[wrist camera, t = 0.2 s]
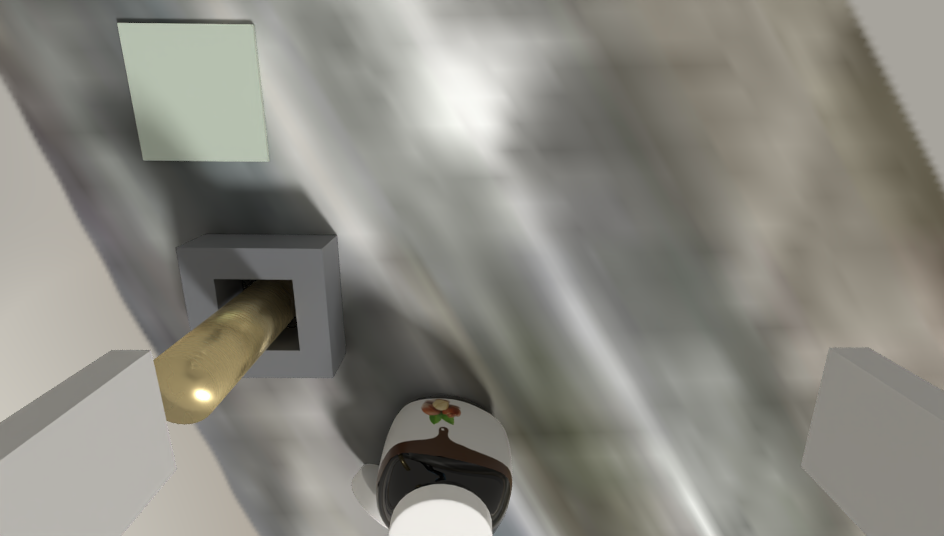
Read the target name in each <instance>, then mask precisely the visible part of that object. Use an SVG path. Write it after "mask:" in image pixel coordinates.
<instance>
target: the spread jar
mask: <svg viewBox="0 0 944 536" xmlns="http://www.w3.org/2000/svg"><path fill="white" fill-rule="evenodd" d="M512 475H513V473H512V460H511V452H510V445H509V440H508V437H507V434H506V431H505V429H504V427H503V426H502V424H501V423H500V422H499V420H498V419H497V418H495V417H494V416H493V415H492V414H491V413H490V412H488V411H487V410H485V409H484V408H482V407H481V406H479V405H477V404H475V403H473V402H471V401H469V400H466V399H463V398H460V397H455V396H446V395H440V396H430V397H425V398H421V399H417V400H415V401H413V402H411V403H409V404H407V405H406V406H404V407H403V408H402V409H401V411H400V412H399V413H398V415H397V416H396V418H395V419H394V421H393V423H392V426H391V428H390V430H389V433H388V435H387V438H386V442H385V445H384V449H383V453H382V457H381V460H380V465H375V464H365V465H363V466H362V467H361V469H360V470H359V471H358V473H357V474H356V475H355V477H354V478H353V480H352V485H351V486H352V490H353V493H354V495H355V497H356V498H357V500H358V502H359V503H360V504H361V506H362V507H363V508H364V509H365V510H366V511H367V512H368V514H369V515H371V516H372V517H373V518H374V519H375V520H376V521H377V522H379V523H380V524H381V525H383V526H384V527H386V528H388V529H389V534H388V536H492V535H493V534H494V533H495V531H496V530H497V528H498V527H499V525H500V524H501V522H502V520H503V518H504V516H505V514H506V511H507V508H508V504H509V500H510V496H511V490H512Z"/></svg>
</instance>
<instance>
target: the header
mask: <svg viewBox="0 0 944 536" xmlns="http://www.w3.org/2000/svg"><path fill="white" fill-rule="evenodd" d="M176 253H177V259H178V264H179V270H180V275H181V281H182V286H183V292H184V298H185V303H186V309H187V314H188V320H189V325H190V331H192V330H193V329H194V328H196V327H197V326H198V325H200V324H201V323H202V322H203V321H205V320H206V319H207V318H209V317H210V316H211V315H212V314H214V313H215V312H216V311H218V310H219V309H220V308H221V307H223V306H224V305H225V304H227V303H228V302H229V301H230V300H232V299H233V298H234V297H236V296H237V295H238V294H240V293H241V292H242V291H243V285H242V279H265V280H292V281H293V290H294V299H295V309H296V318H297V327H298V328H284V330H283V331H282V332H281V333H280V334H279V335H278V337H277V338H276V339H275V340H274V341H273V342H272V343H271V345H270V346H269V347H268V348H267V349H266V350H265V351H264V353H263V354H262V355H261V356H260V357H259V358H258V360H257V361H256V362H255V363H254V364H253V365H252V366H251V368H250V369H249V370H248V371H247V372H246V373H245V375H244V376H243V377H242V378H333V377H334V375H335V373H336V371H337V370H338V368H339V366H340V364H341V362H342V360H343V358H344V356H345V354H346V346H345V333H344V319H343V306H342V293H341V280H340V267H339V254H338V241H337V235H254V234H205V235H203V236H201V237H198V238H196V239H194V240H192V241H189V242H187V243H185V244H183V245H181V246H178V247H176Z"/></svg>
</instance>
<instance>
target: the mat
mask: <svg viewBox="0 0 944 536" xmlns="http://www.w3.org/2000/svg"><path fill="white" fill-rule="evenodd" d="M117 25H118V30H119V35H120V41H121V46H122V51H123V56H124V62H125V67H126V72H127V78H128V83H129V88H130V93H131V99H132V104H133V109H134V114H135V120H136V125H137V130H138V136H139V141H140V146H141V151H142V157H143V161H252V162H269V161H270V159H269V150H268V141H267V133H266V124H265V115H264V106H263V97H262V88H261V80H260V71H259V62H258V53H257V44H256V36H255V27H254V25H253V24H169V23H117Z"/></svg>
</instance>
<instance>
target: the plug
mask: <svg viewBox="0 0 944 536" xmlns="http://www.w3.org/2000/svg"><path fill="white" fill-rule="evenodd" d="M295 316H296V309H295V299H294V290H293V281H292V280H265V279H258V280H256V281H255V282H254V283H252V284H251V285H250V286H249V287H247V288H246V289H245V290H243V291H242V292H241V293H240V294H238V295H237V296H236V297H234V298H233V299H232V300H230V301H229V302H228V303H227V304H225V305H224V306H223V307H221V308H220V309H219V310H218V311H216V312H215V313H214V314H212V315H211V316H210V317H209V318H207V319H206V320H205V321H203V322H202V323H201V324H200V325H198V326H197V327H196V328H194V329H193V330H192V331H190V332H189V333H188V334H187V335H185V336H184V337H183V338H181V339H180V340H179V341H178V342H176V343H175V344H174V345H172V346H171V347H170V348H169V349H167V350H166V351H165V352H163V353H162V354H161V355H160V356H158V357H157V358H156V359H154V360H153V361H154V366H155V370H156V375H157V380H158V384H159V389H160V393H161V398H162V403H163V407H164V412H165V416H166V421H169V422H172V423H177V424H193V423H196V422H199V421H202V420H203V419H205V418H206V417H208V416H209V415H210V414H211V413H212V411H213V410H214V409H215V408H216V407H217V406H218V404H219V403H220V402H221V401H222V400H223V399H224V398H225V396H226V395H227V394H228V393H229V392H230V391H231V389H232V388H233V387H234V386H235V385H236V384H237V383H238V381H239V380H240V379H241V378H242V377H243V376H244V375H245V373H246V372H247V371H248V370H249V369H250V368H251V366H252V365H253V364H254V363H255V362H256V361H257V360H258V358H259V357H260V356H261V355H262V354H263V353H264V351H265V350H266V349H267V348H268V347H269V346H270V345H271V343H272V342H273V341H274V340H275V339H276V338H277V337H278V335H279V334H280V333H281V332H282V331H283V330H284V328H285V327H286V326H287V325H288V324H289V323H290V322H291V320H292V319H293V318H294V317H295Z"/></svg>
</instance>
